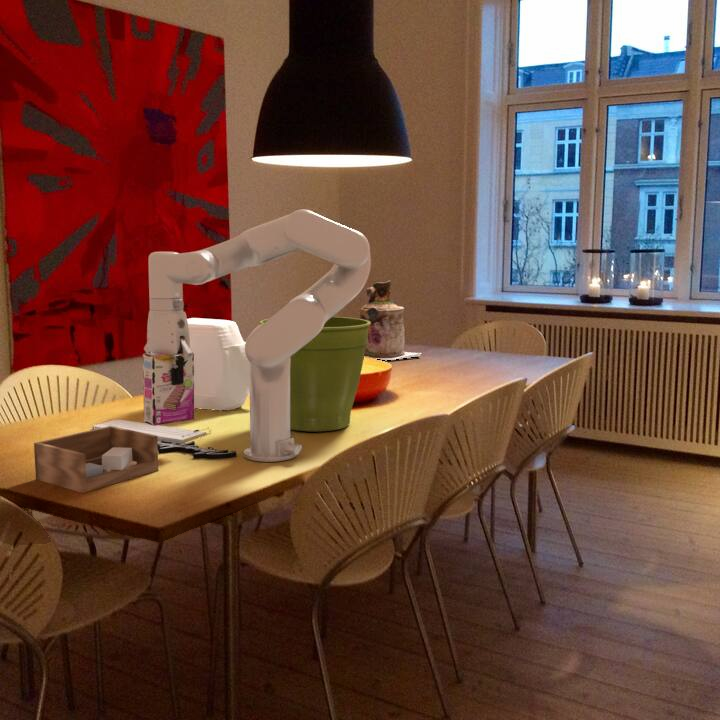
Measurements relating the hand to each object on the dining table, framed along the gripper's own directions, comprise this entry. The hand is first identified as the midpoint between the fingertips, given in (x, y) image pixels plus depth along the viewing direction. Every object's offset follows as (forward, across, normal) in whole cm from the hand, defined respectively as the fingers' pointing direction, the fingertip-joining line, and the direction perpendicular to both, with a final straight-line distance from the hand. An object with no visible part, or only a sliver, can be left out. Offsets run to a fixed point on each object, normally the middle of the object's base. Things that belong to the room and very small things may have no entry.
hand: (168, 382), depth 201 cm
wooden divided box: (+18, 0, +20) cm, 27 cm away
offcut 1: (+18, -4, +26) cm, 32 cm away
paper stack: (+18, +31, -45) cm, 58 cm away
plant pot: (+18, -8, -45) cm, 49 cm away
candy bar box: (+10, 0, 0) cm, 10 cm away
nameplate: (+18, 0, -5) cm, 19 cm away
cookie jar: (+18, +47, -159) cm, 166 cm away
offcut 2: (+15, -4, +19) cm, 25 cm away
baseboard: (+19, +22, -14) cm, 32 cm away
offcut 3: (+18, -4, +19) cm, 26 cm away
